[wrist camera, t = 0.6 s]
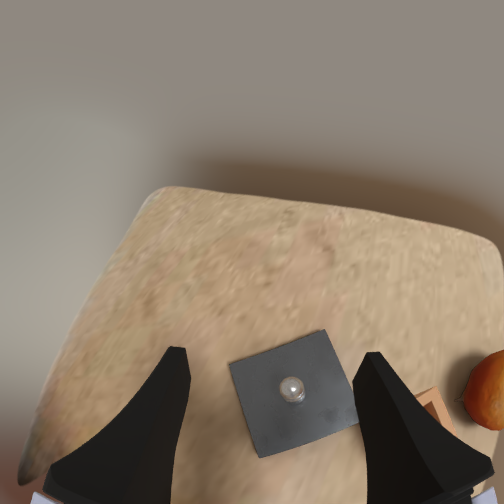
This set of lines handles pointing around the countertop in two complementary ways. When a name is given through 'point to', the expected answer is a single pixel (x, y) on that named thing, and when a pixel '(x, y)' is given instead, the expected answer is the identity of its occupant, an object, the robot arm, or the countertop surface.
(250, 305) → the countertop surface
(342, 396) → the post base
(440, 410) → the collar
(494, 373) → the fruit
